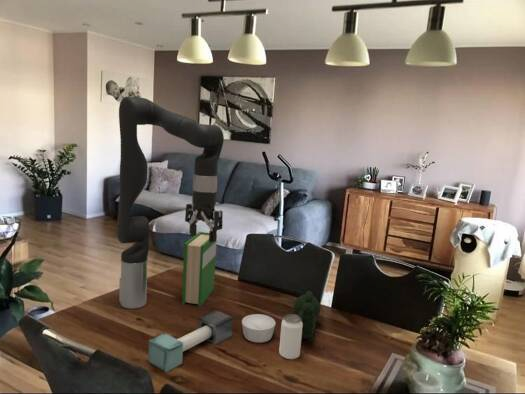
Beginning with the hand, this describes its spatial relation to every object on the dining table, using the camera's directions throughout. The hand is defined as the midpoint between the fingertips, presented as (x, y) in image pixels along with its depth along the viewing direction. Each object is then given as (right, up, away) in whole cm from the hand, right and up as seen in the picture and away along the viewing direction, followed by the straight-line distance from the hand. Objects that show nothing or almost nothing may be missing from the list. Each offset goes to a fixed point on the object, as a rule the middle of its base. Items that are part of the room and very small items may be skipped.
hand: (202, 239), depth 134 cm
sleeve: (+4, -32, +4) cm, 33 cm away
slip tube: (-2, -33, -4) cm, 34 cm away
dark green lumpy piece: (+34, -33, +11) cm, 49 cm away
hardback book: (-6, -26, +33) cm, 43 cm away
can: (+28, -36, -4) cm, 45 cm away
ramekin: (+18, -33, +6) cm, 38 cm away
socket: (-9, -34, -13) cm, 38 cm away
